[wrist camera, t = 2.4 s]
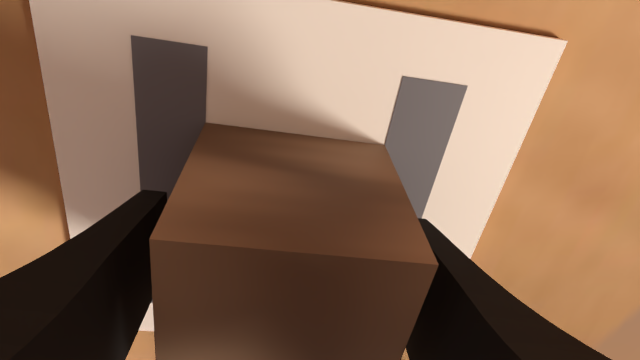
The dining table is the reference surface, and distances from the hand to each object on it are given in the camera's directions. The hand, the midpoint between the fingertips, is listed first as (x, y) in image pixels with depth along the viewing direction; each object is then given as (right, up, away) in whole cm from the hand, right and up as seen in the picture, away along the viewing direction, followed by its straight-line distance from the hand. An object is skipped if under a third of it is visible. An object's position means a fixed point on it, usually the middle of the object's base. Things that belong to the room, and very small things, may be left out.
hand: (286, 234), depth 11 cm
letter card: (0, +1, +1) cm, 2 cm away
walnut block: (0, +1, +1) cm, 1 cm away
